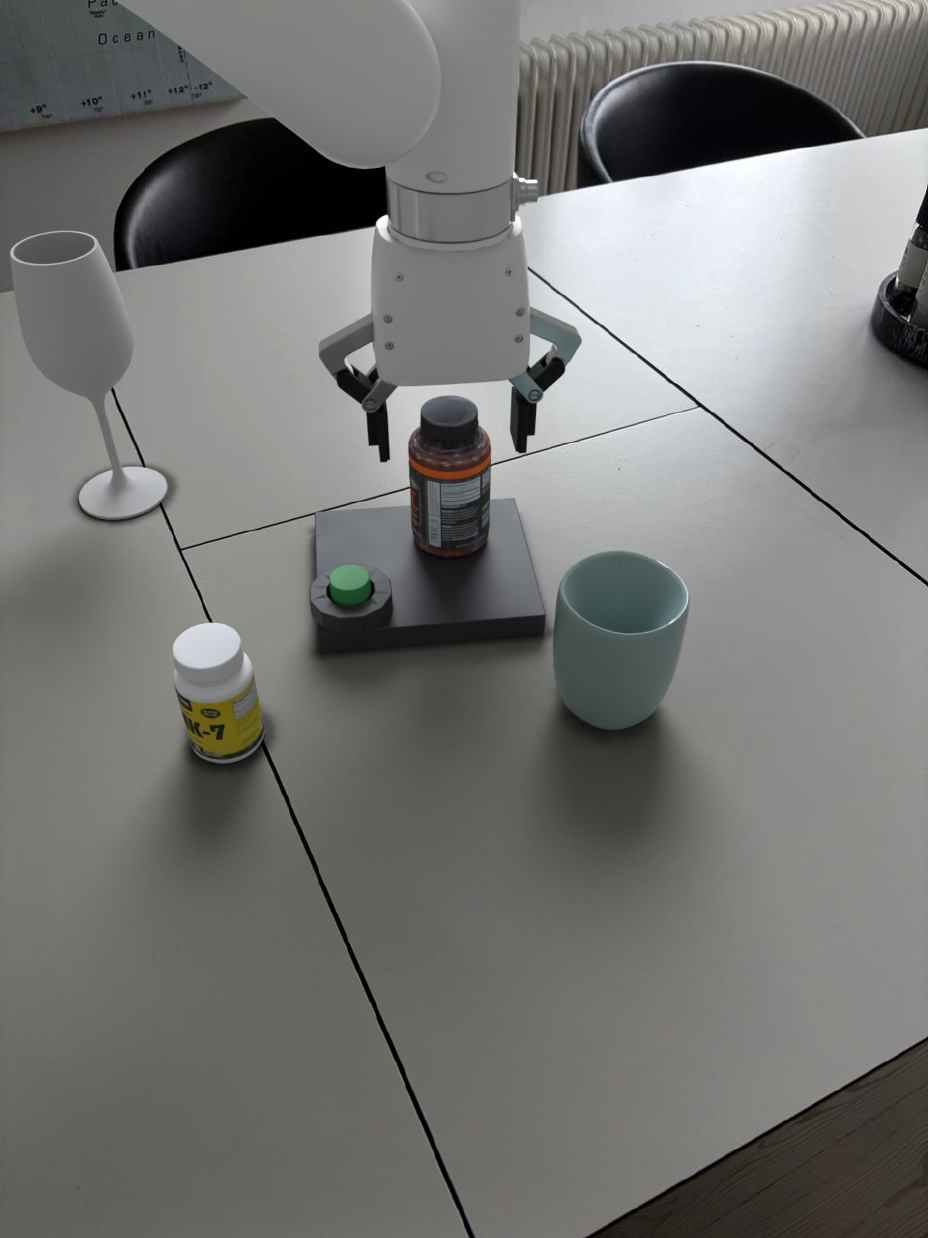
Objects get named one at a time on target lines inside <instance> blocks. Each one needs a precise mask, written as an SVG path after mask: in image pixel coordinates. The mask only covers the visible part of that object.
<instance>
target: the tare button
mask: <svg viewBox="0 0 928 1238" xmlns="http://www.w3.org/2000/svg"><path fill="white" fill-rule="evenodd" d="M329 583H330V592H331V597H332V599H333V601H334V602H335V603H337V604H339V605H342V606H358V605H360V604H362V603H364V602H366V601H367V600H368V599H369V597H370V595H371V587H370V576H369V573H368V571H367V570H366V569H365V568H363V567H361V566H358V565H343V566H340V567H338V568H336V569H335V570H333V571H332V573H331V574H330V577H329Z"/></svg>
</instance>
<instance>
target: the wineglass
mask: <svg viewBox="0 0 928 1238" xmlns="http://www.w3.org/2000/svg"><path fill="white" fill-rule="evenodd" d="M9 253H10V254H9V258H10V269H11V277H12V285H13V293H14V299H15V305H16V311H17V316H18V320H19V325H20V330H21V335H22V339H23V341H24V344H25V348H26V350H27V352H28V354H29V357H30V359H31V361H32V362H33V364H34V365H35V366H36V368H37V369H38V370H39V372H40V373H41V374H42V375H43V376H44V378H46V379H48V380H49V381H50V382H52V383H53V384H55V385H56V386H58V387H59V388H61V389H63V390H64V391H68V392H70V393H72V394H75V395H78V396H80V397H83V398H86V399H87V400H88V401H89V402H90V403H91V405H92V407H93V409H94V411H95V413H96V418H97V420H98V425H99V427H100V431H101V435H102V438H103V441H104V445H105V448H106V452H107V455H108V459H109V462H110V465H111V469H110V470H109V469H108V470H107V471H105V472H102V473H99V474H97V475H96V476H94V477H91V478H90V480H89V481H87V482H86V483H85V484H84V485H83V486H82V488H81V490H80V491H79V495H78V501H79V505H80V507H81V509H82V510H83V511H84V512H85V513H86V514H88V515H90V516H91V517H95V518H97V519H103V520H109V521H110V520H111V521H112V520H115V521H116V520H118V521H119V520H125V519H131V518H134V517H137V516H141V515H143V514H146V513H148V512H151V510H154V509H155V508H156V507H158V506H159V505H160V504H161V502H163V501H164V500H165V497H166V496H167V494H168V489H169V486H168V482H167V479H166V478H165V477H164V476H163V474H162V473H161V472H159V471H157V470H155V469H151V468H149V467H143V466H125V467H122V465H121V461H120V458H119V454H118V450H117V447H116V444H115V439H114V437H113V433H112V429H111V425H110V422H109V418H108V414H107V411H106V404H105V403H106V402H105V399H106V395H107V394H108V393H109V392H110V391H111V390H112V389H113V388H114V387H115V386H116V385H117V384H118V383H119V382H120V380H121V379H122V378H123V377H124V375H125V373H126V372H127V370H128V368H129V366H130V365H131V362H132V358H133V352H134V347H135V343H134V342H135V341H134V334H133V328H132V324H131V319H130V316H129V313H128V310H127V306H126V304H125V301H124V299H123V296H122V293H121V290H120V288H119V285H118V282H117V280H116V278H115V275H114V273H113V271H112V268H111V267H110V263H109V262H108V260H107V257H106V255H105V253H104V250H103V249H102V247H101V245H100V243H99V241H98V239H97V238H96V237H95V236H94V235H91V234H89V233H87V232H84V231H79V230H78V231H77V230H57V231H56V230H55V231H48V232H47V231H46V232H43V233H39V234H34V235H31V236H29V237H26V238H24V239H22V240H20V241H18V242H16V243H15V245H13V246H12V247H11V249H10V251H9Z"/></svg>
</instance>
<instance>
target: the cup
mask: <svg viewBox="0 0 928 1238" xmlns="http://www.w3.org/2000/svg"><path fill="white" fill-rule="evenodd" d="M690 598H691V597H690V594H689V589H688V587H687V586H686V584H685V582H684V581H683V579H682V578H681V577H680V575H678V574H677V573H676V571H675V570H673V569H671V568H670V567H669V566H668V565H667V564H665V563H663V562H661V561H659V560H658V559H656V558H653V557H651V556H648V555H646V554H643V553H639V552H635V551H628V550H608V551H601V552H597V553H595V554H591V555H589V556H586V557H584V558H582V559H580V560H579V561H577V562H576V563H574V564H573V565H572V566H571V567H569V568H568V569H567V571H566V572H565V573H564V574H563V576H562V578H561V579H560V582H559V585H558V589H557V594H556V600H555V610H554V611H555V612H554V623H553V635H552V639H553V640H552V668H553V675H554V681H555V686H556V688H557V691H558V694H559V696H560V698H561V700H562V702H563V703H564V704H565V706H566V707H567V709H568V710H569V711H570V712H571V713H572V714H573V715H574V716H575V717H576V718H578V719H580V720H581V721H583V722H584V723H586V724H588V725H590V726H592V727H594V728H597V729H601V730H606V731H619V730H625V729H628V728H631V727H634V726H636V725H638V724H640V723H642V722H643V721H645V720H646V719H648V718H649V717H650V716H652V714H654V712H655V711H656V710H657V709H658V708H659V706H660V705H661V704H662V703H663V701H664V699H665V697H666V695H667V693H668V691H669V689H670V686H671V684H672V682H673V679H674V676H675V673H676V671H677V666H678V664H679V659H680V656H681V653H682V652H681V651H682V647H683V643H684V638H685V634H686V630H687V629H686V628H687V624H688V619H689V612H690V601H691V599H690Z"/></svg>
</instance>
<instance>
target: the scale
mask: <svg viewBox="0 0 928 1238" xmlns="http://www.w3.org/2000/svg"><path fill="white" fill-rule="evenodd" d="M314 536H315V537H314V538H315V539H314V541H315V545H314V546H315V579H314V581H312V582H311V584H310V585H309V607H310V611H311V612H310V613H311V617H312V618H313V620H314V621H315V622H316V628H317V629H316V630H317V632H316V633H317V640H318V648H319V653H321V654H322V653H335V652H345V651H346V652H347V651H348V652H349V651H359V650H369V649H370V650H371V649H382V648H383V649H384V648H391V647H392V648H393V647H406V646H418V645H429V644H440V643H453V642H464V641H477V640H491V639H502V638H511V637H512V638H515V637H523V636H525V637H526V636H536V635H537V636H538V635H544V634H545V631H546V616H547V614H546V611H545V607H544V604H543V603H544V602H543V598H542V596H541V591H540V588H539V584H538V580H537V577H536V573H535V569H534V565H533V562H532V559H531V555H530V551H529V547H528V543H527V540H526V536H525V531H524V528H523V524H522V521H521V517H520V513H519V510H518V505H517V502H516V498H515V497H511V498H509V497H508V498H495V499H494V498H493V499H490V527H489V535H488V538H487V540H486V542H485V544H484V545H483V546H482V547H481V548H479V549H478V550H477V551H475V552H473V553H472V554H469V555H465V556H462V557H453V558H446V557H439V556H435V555H433V554H430V553H428V552H426V551H424V550H422V548H420V547H419V546H418V545H417V543H416V542H415V540H414V537H413V532H412V526H411V504H410V505H409V504H408V505H398V506H384V507H383V506H381V507H368V508H354V509H341V510H326V511H315V512H314ZM343 565H358V566H361V567H363V568H365V569H366V570H367V571H368V573H369V576H370V587H371V595H370V597H369V599H368V600H367V601H366V602H364V603H362V604H360V605H358V606H342V605H339V604H337V603H335V602H334V601H333V599H332V597H331V592H330V583H329V577H330V574H331V573H332V571H333V570H335V569H336V568H338V567H340V566H343Z"/></svg>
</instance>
